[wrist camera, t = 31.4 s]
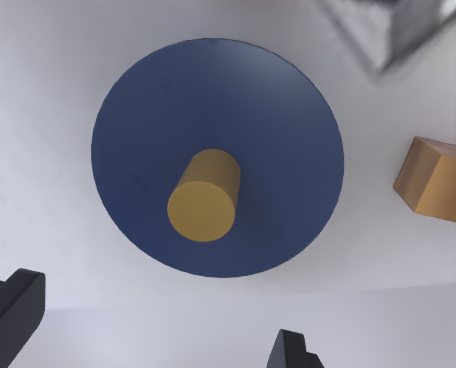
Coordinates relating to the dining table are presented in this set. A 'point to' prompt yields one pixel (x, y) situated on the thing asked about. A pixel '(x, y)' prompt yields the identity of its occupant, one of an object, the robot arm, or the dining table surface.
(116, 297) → the dining table surface
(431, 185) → the piece
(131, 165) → the tin lid
